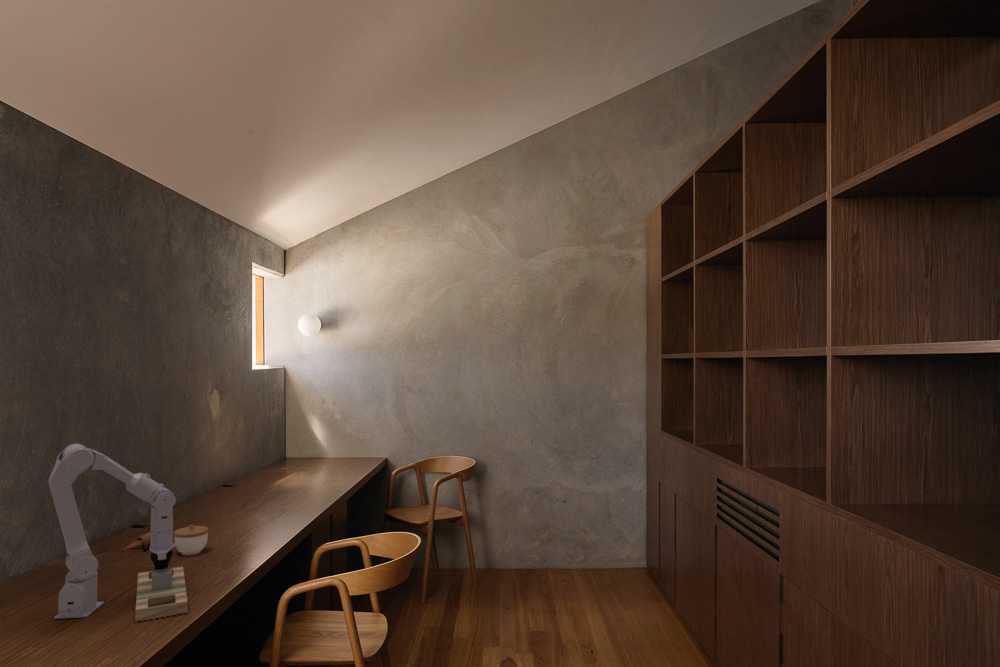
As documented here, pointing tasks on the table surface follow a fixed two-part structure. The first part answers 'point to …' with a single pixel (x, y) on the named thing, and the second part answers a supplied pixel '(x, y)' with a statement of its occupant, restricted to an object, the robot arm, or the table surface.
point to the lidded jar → (191, 539)
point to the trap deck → (160, 597)
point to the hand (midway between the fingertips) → (161, 578)
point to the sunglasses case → (140, 543)
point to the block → (161, 578)
